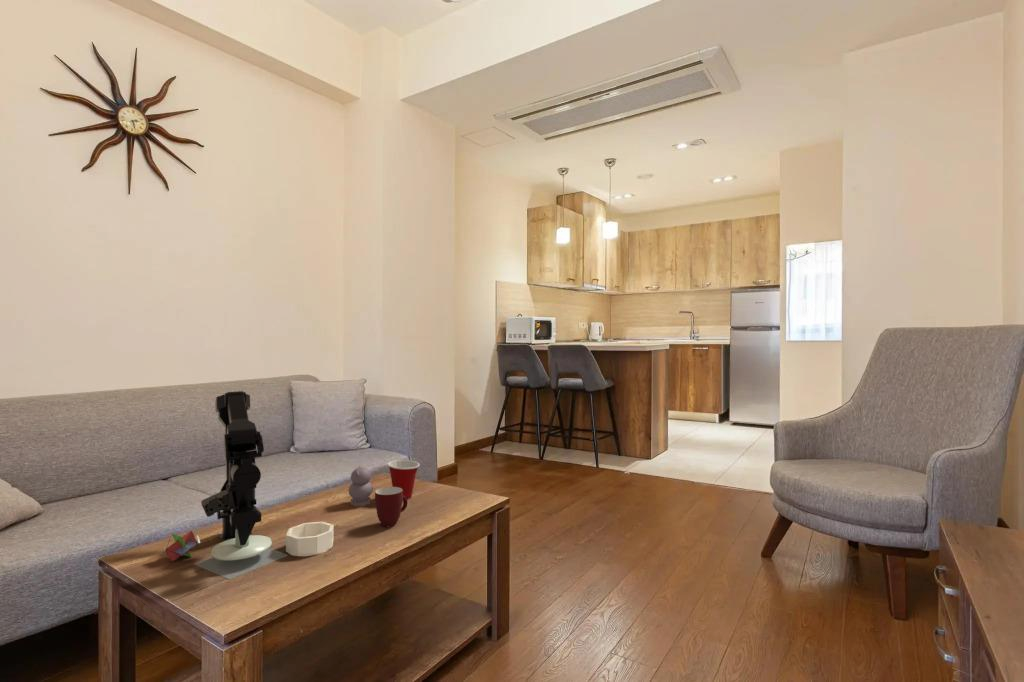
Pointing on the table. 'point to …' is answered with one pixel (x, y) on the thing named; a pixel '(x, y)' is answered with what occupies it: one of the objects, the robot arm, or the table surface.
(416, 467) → the plastic cup
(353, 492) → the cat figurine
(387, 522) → the mug
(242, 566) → the mat
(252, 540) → the lid
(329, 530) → the bowl
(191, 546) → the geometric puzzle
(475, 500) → the table surface
